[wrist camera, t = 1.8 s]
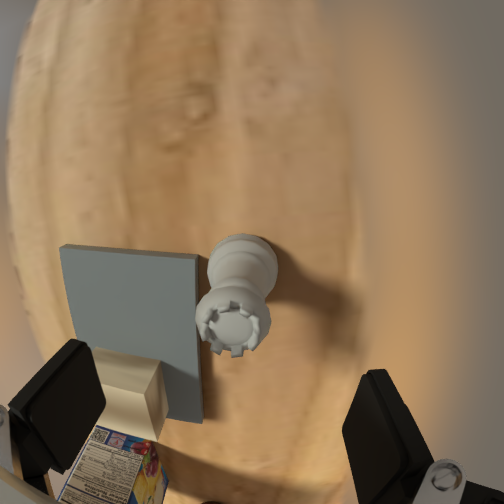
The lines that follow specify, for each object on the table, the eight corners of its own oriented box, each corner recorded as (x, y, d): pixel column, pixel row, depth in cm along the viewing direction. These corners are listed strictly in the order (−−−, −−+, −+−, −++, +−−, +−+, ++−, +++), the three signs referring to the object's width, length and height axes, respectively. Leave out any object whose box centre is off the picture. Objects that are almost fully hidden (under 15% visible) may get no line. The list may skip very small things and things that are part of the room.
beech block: (96, 346, 20) (73, 374, 16) (160, 360, 20) (143, 394, 16) (110, 395, 22) (94, 423, 18) (168, 409, 22) (157, 441, 18)
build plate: (66, 244, 19) (59, 247, 18) (198, 254, 19) (194, 259, 18) (101, 394, 23) (97, 400, 23) (204, 416, 23) (202, 423, 22)
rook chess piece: (279, 231, 18) (289, 282, 10) (276, 296, 19) (283, 375, 12) (208, 231, 18) (169, 280, 10) (211, 295, 19) (182, 370, 12)
